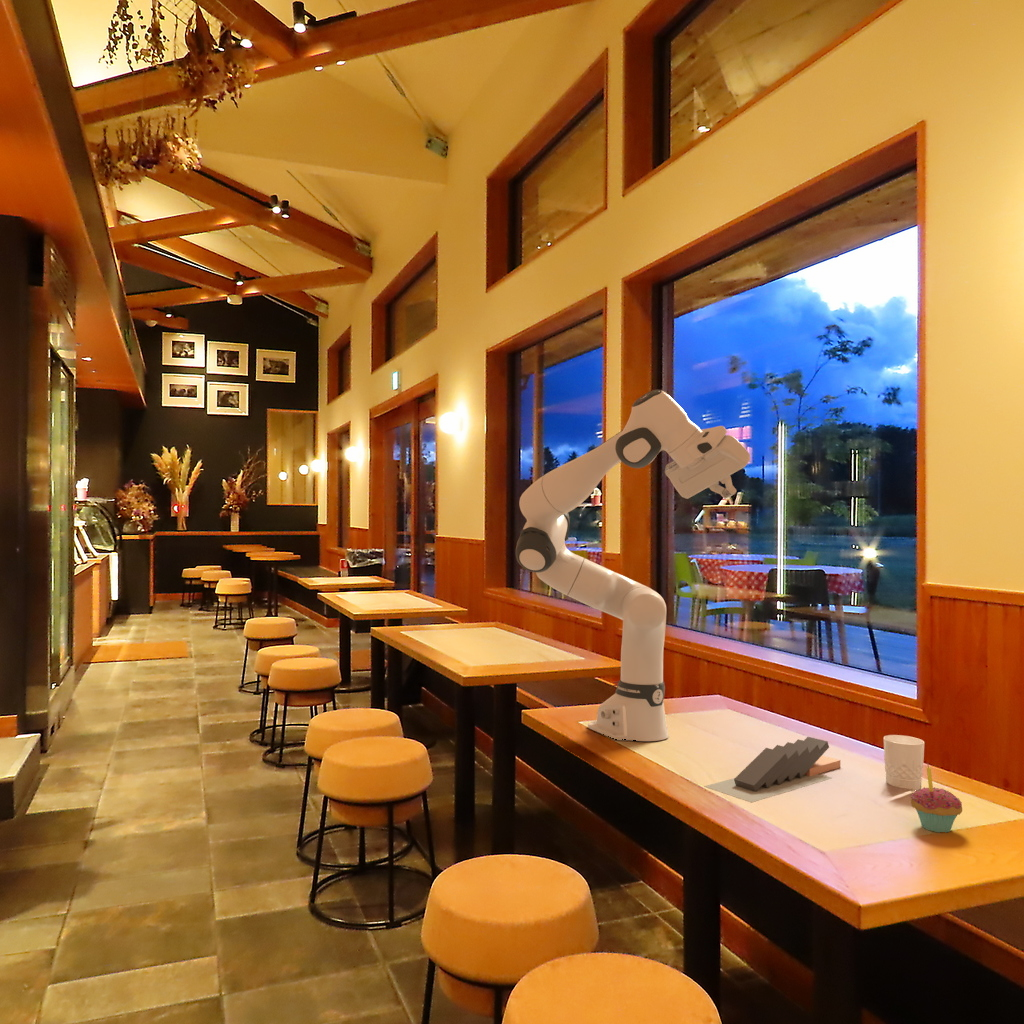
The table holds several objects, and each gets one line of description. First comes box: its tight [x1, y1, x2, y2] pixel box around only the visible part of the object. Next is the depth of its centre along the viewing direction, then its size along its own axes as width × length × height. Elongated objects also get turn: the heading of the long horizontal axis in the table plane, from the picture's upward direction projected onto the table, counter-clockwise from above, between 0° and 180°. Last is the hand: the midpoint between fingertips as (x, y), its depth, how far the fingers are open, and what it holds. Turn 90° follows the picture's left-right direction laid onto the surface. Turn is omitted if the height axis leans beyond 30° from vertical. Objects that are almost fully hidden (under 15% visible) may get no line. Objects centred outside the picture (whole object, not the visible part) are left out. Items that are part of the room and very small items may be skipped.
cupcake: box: [910, 762, 963, 833], centre depth 150 cm, size 9×8×12 cm
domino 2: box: [761, 744, 799, 789], centre depth 175 cm, size 5×2×12 cm
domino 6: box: [804, 755, 841, 776], centre depth 184 cm, size 5×2×12 cm
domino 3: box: [773, 741, 809, 785], centre depth 177 cm, size 5×2×12 cm
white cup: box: [883, 734, 925, 792], centre depth 174 cm, size 8×8×10 cm
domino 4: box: [785, 739, 819, 781], centre depth 179 cm, size 5×2×12 cm
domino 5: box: [795, 736, 830, 778], centre depth 182 cm, size 5×2×12 cm
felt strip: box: [704, 773, 832, 803], centre depth 174 cm, size 12×28×1 cm, turn 127°
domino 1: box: [734, 747, 788, 792], centre depth 172 cm, size 5×2×12 cm
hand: (731, 495), depth 183 cm, fingers closed
